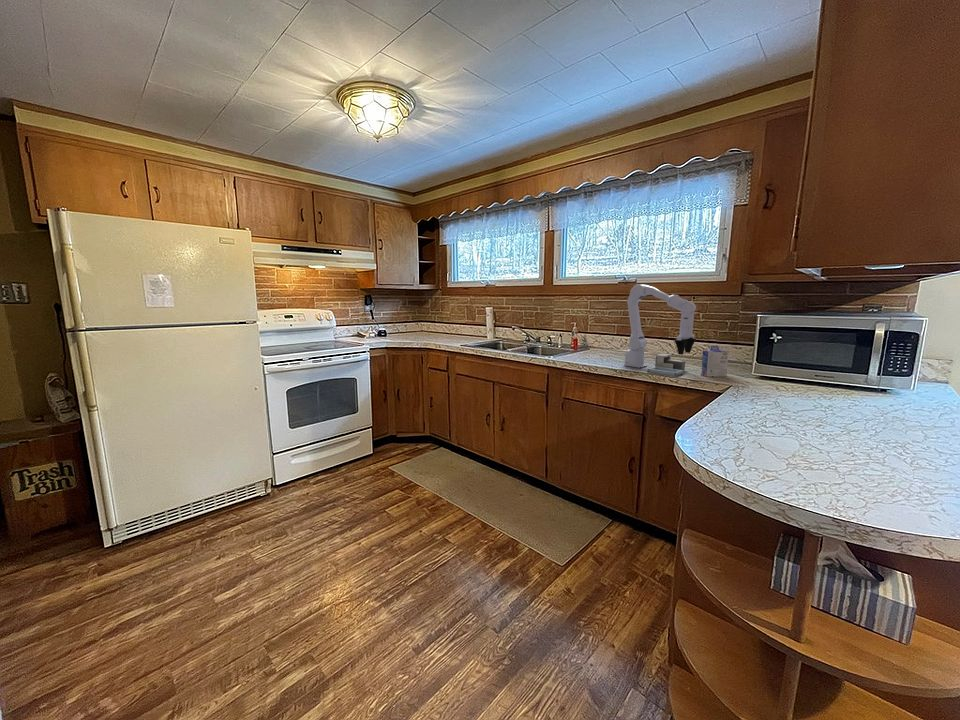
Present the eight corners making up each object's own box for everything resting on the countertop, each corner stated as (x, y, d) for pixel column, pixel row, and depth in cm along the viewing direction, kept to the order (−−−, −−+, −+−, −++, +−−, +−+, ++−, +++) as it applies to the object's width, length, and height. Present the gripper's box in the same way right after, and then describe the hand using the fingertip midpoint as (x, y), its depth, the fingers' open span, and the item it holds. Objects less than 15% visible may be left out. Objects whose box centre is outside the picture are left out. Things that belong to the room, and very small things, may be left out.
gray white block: (663, 369, 205) (664, 359, 204) (667, 368, 207) (667, 358, 206) (680, 371, 198) (681, 361, 197) (684, 370, 200) (685, 361, 199)
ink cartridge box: (720, 374, 191) (723, 345, 188) (727, 376, 185) (730, 346, 183) (700, 374, 191) (702, 345, 188) (706, 377, 185) (709, 346, 183)
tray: (647, 372, 197) (647, 368, 197) (655, 369, 203) (656, 366, 202) (675, 376, 186) (675, 372, 186) (683, 374, 192) (683, 370, 192)
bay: (654, 368, 206) (655, 355, 205) (662, 366, 211) (663, 353, 210) (672, 371, 199) (673, 357, 198) (679, 369, 204) (680, 355, 203)
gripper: (688, 328, 186) (685, 355, 189) (701, 326, 195) (698, 352, 197) (673, 326, 192) (671, 354, 194) (686, 325, 201) (684, 351, 203)
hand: (684, 353), depth 196 cm, fingers open, 7 cm apart
